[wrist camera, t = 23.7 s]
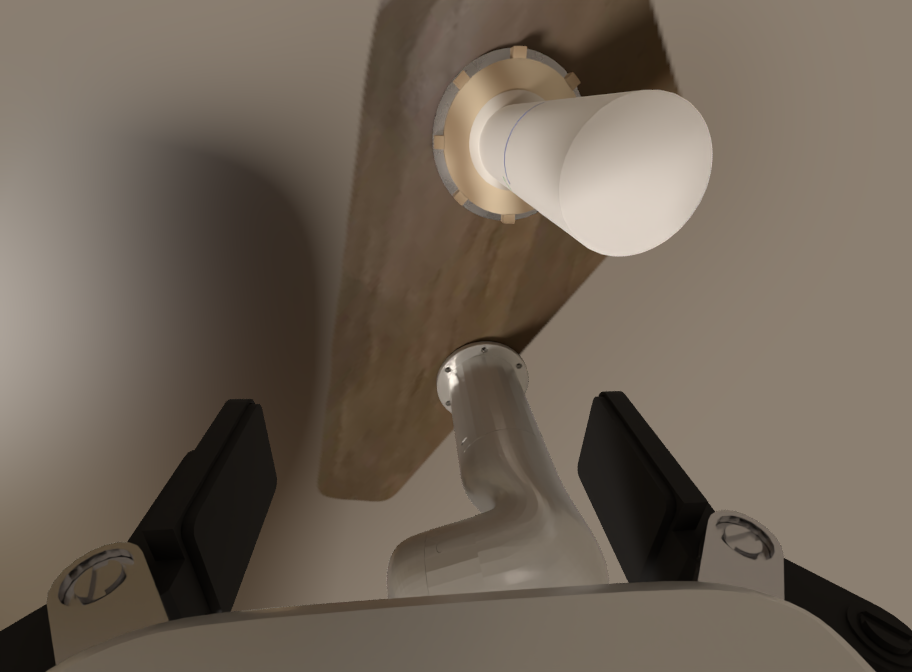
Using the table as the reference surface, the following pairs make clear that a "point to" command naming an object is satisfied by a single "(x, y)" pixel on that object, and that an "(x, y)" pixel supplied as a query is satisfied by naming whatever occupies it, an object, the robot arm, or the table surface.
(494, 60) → the dial base
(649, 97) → the cylindrical container
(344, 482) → the table surface
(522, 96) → the dial
